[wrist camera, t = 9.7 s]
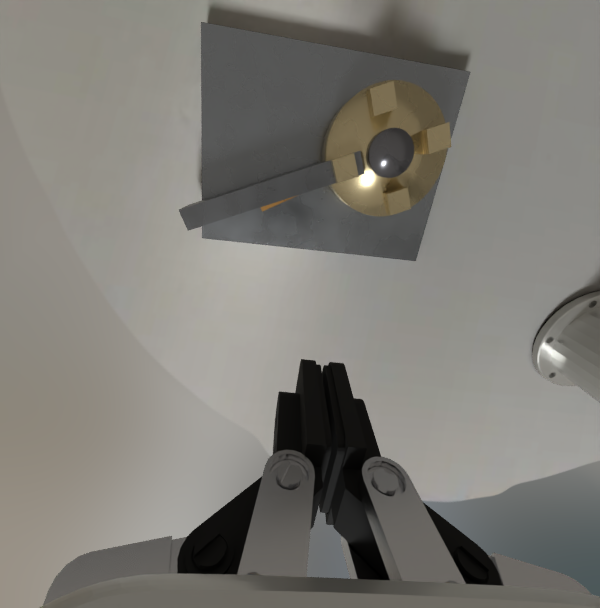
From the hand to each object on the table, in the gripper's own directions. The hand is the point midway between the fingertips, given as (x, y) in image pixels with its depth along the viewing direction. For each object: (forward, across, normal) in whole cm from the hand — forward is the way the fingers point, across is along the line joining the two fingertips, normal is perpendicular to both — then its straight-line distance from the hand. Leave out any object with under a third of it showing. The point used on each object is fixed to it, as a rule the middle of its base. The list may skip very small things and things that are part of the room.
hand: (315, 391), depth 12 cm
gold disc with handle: (+18, 0, -7) cm, 19 cm away
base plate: (+20, -1, -9) cm, 22 cm away
